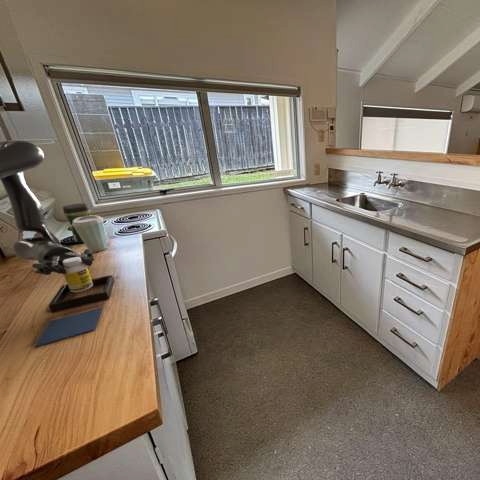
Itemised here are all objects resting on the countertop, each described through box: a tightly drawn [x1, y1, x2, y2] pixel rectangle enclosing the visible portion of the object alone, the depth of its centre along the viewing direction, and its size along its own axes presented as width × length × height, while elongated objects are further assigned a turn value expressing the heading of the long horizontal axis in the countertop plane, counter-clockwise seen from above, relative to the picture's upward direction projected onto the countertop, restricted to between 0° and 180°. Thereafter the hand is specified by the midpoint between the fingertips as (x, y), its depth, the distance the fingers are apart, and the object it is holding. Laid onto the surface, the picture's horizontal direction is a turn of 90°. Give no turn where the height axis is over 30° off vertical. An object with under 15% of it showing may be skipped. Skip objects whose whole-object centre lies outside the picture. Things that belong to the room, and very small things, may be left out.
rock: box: [32, 230, 63, 246], centre depth 117 cm, size 11×9×10 cm
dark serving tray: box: [48, 274, 115, 314], centre depth 80 cm, size 13×13×2 cm
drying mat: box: [34, 307, 103, 348], centre depth 67 cm, size 11×11×1 cm
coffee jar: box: [62, 202, 91, 244], centre depth 126 cm, size 10×8×19 cm
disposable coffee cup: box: [72, 214, 108, 253], centre depth 115 cm, size 11×11×15 cm
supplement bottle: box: [63, 257, 93, 293], centre depth 78 cm, size 5×5×10 cm
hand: (77, 266), depth 76 cm, fingers closed on supplement bottle, 5 cm apart
